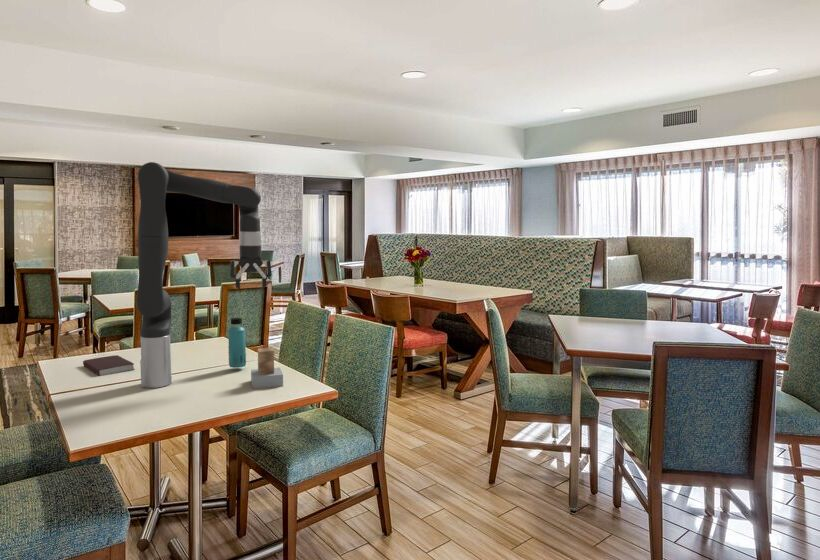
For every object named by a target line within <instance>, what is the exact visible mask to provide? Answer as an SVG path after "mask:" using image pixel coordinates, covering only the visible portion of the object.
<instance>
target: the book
mask: <svg viewBox="0 0 820 560" xmlns="http://www.w3.org/2000/svg"><path fill="white" fill-rule="evenodd" d="M82 363H83V364H82V365H83V367H85V368H86V369H88V370H89V371H91V372H92V373H94V374H95V375H97V376H99V377H101V376H107V375H115V374H119V373H125V372H131V371H135V370H136V368H134V365H135V363H134V362H132V361H130V360H128V359H126V358H124V357H122V356H120V355H108V356H101V357H94V358H90V359H85V360H83V361H82Z"/></svg>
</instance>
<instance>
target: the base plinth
mask: <svg viewBox="0 0 820 560" xmlns="http://www.w3.org/2000/svg"><path fill="white" fill-rule="evenodd" d="M250 381H251V382H250V383H251V385H252V389H264V388H275V387H283V386H284V374H283V372H282V370H281V367H274V374H261V375H259V372H258V368H256V369H253V368H252V369H250Z"/></svg>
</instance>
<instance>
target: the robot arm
mask: <svg viewBox="0 0 820 560" xmlns="http://www.w3.org/2000/svg"><path fill="white" fill-rule="evenodd" d="M137 181H138V187H139V189H138V190H139V196H140V207H139V208H140V209H139V215H138V218H139V219H138V226H137V254H138V256H137V258H138V261H137V263H138V282H137V292H136V301H135V303H136V305H135V306H136V308H137V312H139V313H140V315H141V316H142V322H141V326H140V329H139V334H140V335H139V336H140V337H139V338H140V339H139V340H140V357H141V358H140V361H139V363H140V365H139V366H140V383H141V384H140V386H141V388H148V389H152V388H155V389H156V388H162V387H167V386H169V385H171V384H172V355H171V354H172V353H171V349H172V348H171V326H172V301H171V295H170V294H169V293H168V292H167V291H166V290H165V289H164V288H163V276H164V274H163V273H164V271H165V266H166V261H167V258H168V253H169V227H168V217H167V211H166V196H167V192H171V193H179V194H185V195H189V196H192V197H197V198H201V199H205V200H210V201H213V202H218V203H223V204H232V205H235V206H236V205H238V211H239V238H238V239H239V242H238V243H239V259H238V260H234V259H233V260H231V261H230V272H229V275H230V278H231V279H232V278H233V279H235V288H236V289H237V290H241V287H240V286H241V279H240V278H241V276H242V275H243V274H244V272H245V273H247V274H248V273H256V272H258V274H260V276H261V277H262V278H261V289H262V290H265V288H267V278H269V277H272V265H271V264H272V262H271V260H269V259H267V260H263V259H262V236H261V220H260V219H261V218H260V217H259V205H260V203H261V201H262V199H261V198H262V197H261V194H260V192H259V191H258V190H257V189H255V188H254V187H253V188H252V187H249V186H243V185H234V184H232V183H227V182H224V181H220V180H215V179H209V178H204V177H196V176H195V177H194V176H189V175H184V174H180V173H177V172H174V171H171V170H168V169H167V168H165V167H164V166H163V165H162V164H160V163H158V162H154V161H153V162H152V161H149V162H146V163H144V164H143V165H141V167H140V168H139V169H138V171H137ZM237 265H238V266H240V268H241V269H240V270H239V271H238V272H237V274H235V268H236V267H237ZM262 265H264V267H266V272H267V273H264V272H263V270H262V269H261V266H262Z"/></svg>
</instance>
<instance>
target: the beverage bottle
mask: <svg viewBox="0 0 820 560" xmlns="http://www.w3.org/2000/svg"><path fill="white" fill-rule="evenodd" d="M242 324H243V320H242V317H232V318H231V319H230V325H234V326H230V328H228V329H227V332H228V333H227V334H228V335H227V336H228V338H227V339H228V340H227V341H228V347H227V348H228V366H229V367H230V368H232V369H234V368H237V369H238V368H243V367H246V365H247V351H246V350H247V348H246V347H247V346H246V328H245V327H243V326H241V325H242Z"/></svg>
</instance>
